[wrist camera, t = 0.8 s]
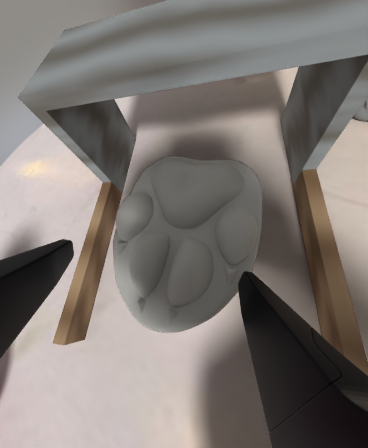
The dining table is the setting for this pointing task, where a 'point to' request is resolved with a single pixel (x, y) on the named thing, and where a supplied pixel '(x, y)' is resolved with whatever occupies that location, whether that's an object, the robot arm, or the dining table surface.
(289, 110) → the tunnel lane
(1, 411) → the dining table surface
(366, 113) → the newton's cradle
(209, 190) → the grey animal paw
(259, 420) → the dining table surface
